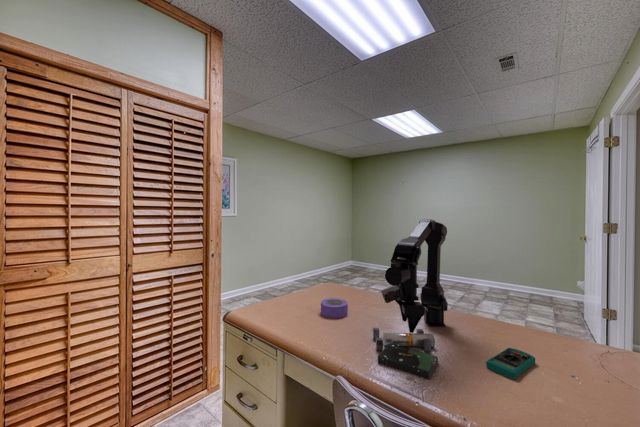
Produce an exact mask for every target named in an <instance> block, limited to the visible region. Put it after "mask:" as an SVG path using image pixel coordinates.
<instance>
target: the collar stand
mask: <svg viewBox="0 0 640 427" xmlns="http://www.w3.org/2000/svg"><path fill="white" fill-rule="evenodd" d="M415 331H416V332H415V333H422V334H425V331H424V329H422V328H420V329H419V328H415ZM372 339H373V341H375V351H376V352H383V350H384V343H383V337H380V329H379V327H372ZM422 352H425V353H431V352H432V347H431V341H430V339H423V347H422Z"/></svg>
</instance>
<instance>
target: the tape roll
mask: <svg viewBox="0 0 640 427" xmlns="http://www.w3.org/2000/svg"><path fill="white" fill-rule="evenodd" d="M348 305H349V303H348V301H347V300H345V299H342V298H338V297H337V298H335V297H334V298H332V297H331V298H325V299H323V300H321V302H320V315H321V316H323V317H324V316H325V317H326V318H327V319H328V318H329V319H341V317H342V318H345V317H346V315H347V316H348V313H349V312H348V308H349V307H348Z"/></svg>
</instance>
